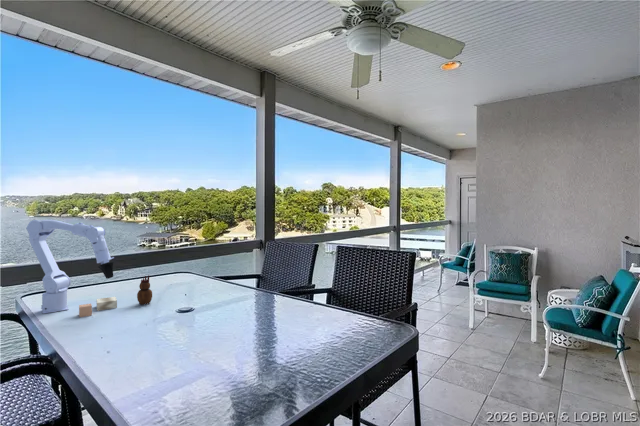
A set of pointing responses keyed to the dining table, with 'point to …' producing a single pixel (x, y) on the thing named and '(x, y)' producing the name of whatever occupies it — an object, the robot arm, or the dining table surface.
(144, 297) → the wooden figurine
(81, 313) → the terracotta cube
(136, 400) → the dining table surface
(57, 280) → the robot arm
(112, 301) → the birch block
